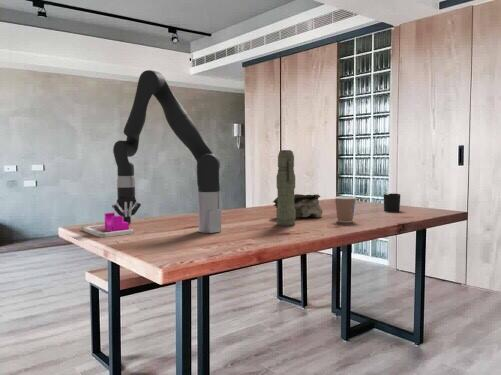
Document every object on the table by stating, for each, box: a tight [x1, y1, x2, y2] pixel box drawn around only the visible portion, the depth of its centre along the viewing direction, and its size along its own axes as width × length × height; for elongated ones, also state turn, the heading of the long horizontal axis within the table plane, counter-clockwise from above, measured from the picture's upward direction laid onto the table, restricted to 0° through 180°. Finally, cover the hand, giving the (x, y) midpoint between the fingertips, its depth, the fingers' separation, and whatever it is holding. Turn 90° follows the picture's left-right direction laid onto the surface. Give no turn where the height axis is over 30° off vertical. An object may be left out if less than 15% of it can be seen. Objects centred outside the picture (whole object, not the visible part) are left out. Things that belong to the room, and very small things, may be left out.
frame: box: [81, 224, 135, 239], centre depth 181 cm, size 23×14×2 cm, turn 39°
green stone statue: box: [275, 149, 296, 227], centre depth 197 cm, size 9×12×35 cm
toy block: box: [104, 212, 130, 232], centre depth 182 cm, size 15×6×8 cm, turn 33°
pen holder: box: [383, 193, 401, 213], centre depth 248 cm, size 9×9×10 cm
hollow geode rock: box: [272, 193, 324, 219], centre depth 220 cm, size 28×13×15 cm
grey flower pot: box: [334, 195, 357, 223], centre depth 207 cm, size 10×10×12 cm
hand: (127, 225), depth 186 cm, fingers closed
